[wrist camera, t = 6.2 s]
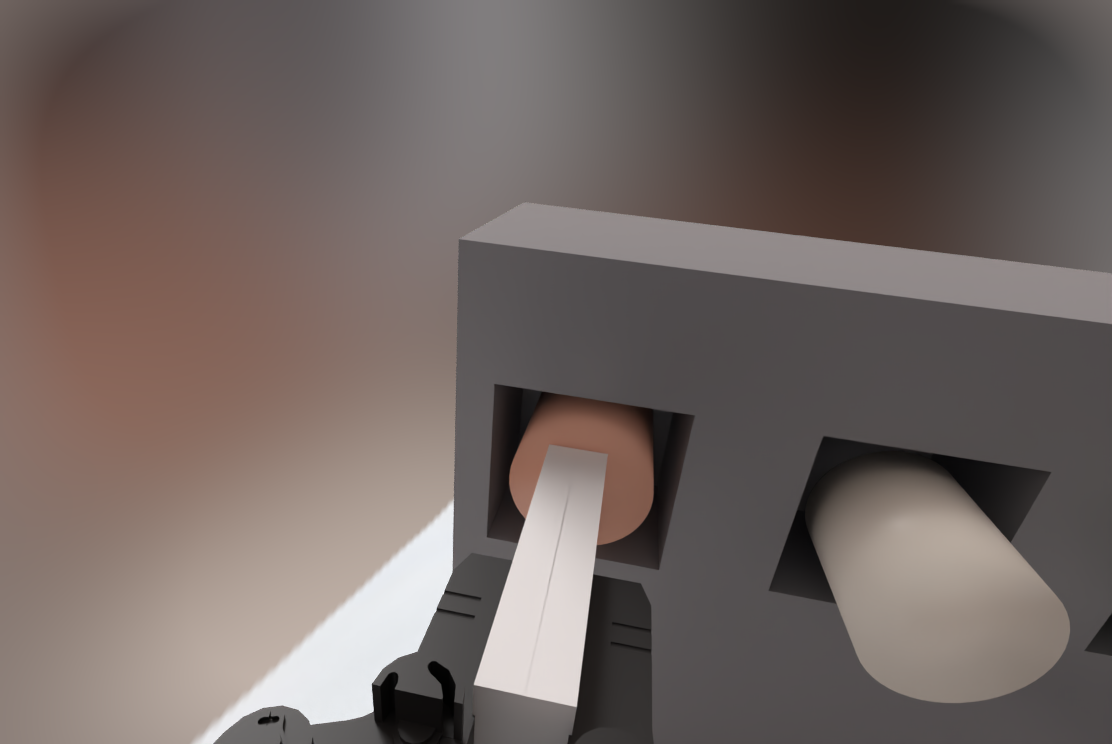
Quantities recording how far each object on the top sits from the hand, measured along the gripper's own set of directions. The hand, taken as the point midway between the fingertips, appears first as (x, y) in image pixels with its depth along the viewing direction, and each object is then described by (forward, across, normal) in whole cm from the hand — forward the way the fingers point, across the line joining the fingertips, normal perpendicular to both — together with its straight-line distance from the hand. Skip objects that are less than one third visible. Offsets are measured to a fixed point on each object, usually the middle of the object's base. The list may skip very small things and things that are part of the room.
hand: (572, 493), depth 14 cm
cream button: (0, +8, -2) cm, 8 cm away
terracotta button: (+2, 0, -2) cm, 3 cm away
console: (+4, +8, -12) cm, 15 cm away
